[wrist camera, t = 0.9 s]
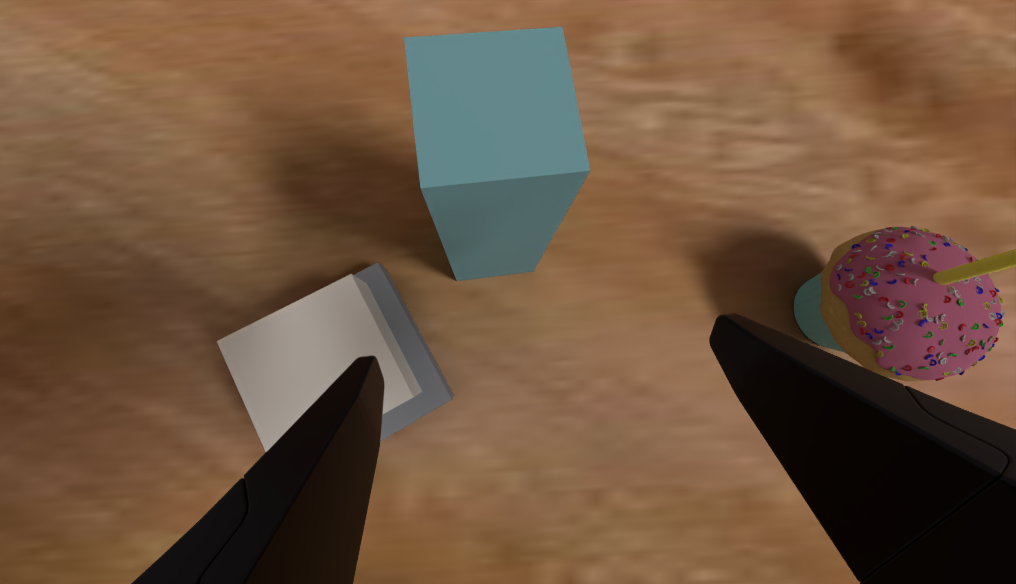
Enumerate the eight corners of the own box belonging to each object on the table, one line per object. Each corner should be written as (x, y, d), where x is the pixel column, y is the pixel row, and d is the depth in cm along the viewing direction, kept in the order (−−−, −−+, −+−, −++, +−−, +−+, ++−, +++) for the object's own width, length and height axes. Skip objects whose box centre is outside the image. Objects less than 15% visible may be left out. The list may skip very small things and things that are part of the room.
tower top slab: (422, 391, 20) (413, 397, 18) (303, 459, 19) (276, 474, 17) (366, 283, 21) (350, 273, 18) (249, 342, 20) (216, 341, 17)
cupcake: (742, 315, 24) (995, 276, 12) (809, 226, 25) (1094, 112, 13) (848, 404, 23) (1223, 455, 11) (910, 307, 25) (1301, 263, 13)
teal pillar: (533, 271, 23) (590, 170, 11) (456, 281, 23) (420, 188, 10) (522, 200, 24) (562, 26, 11) (447, 208, 24) (404, 37, 11)
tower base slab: (455, 394, 22) (451, 399, 20) (320, 473, 21) (298, 489, 19) (389, 271, 24) (378, 262, 21) (257, 340, 22) (228, 338, 20)
